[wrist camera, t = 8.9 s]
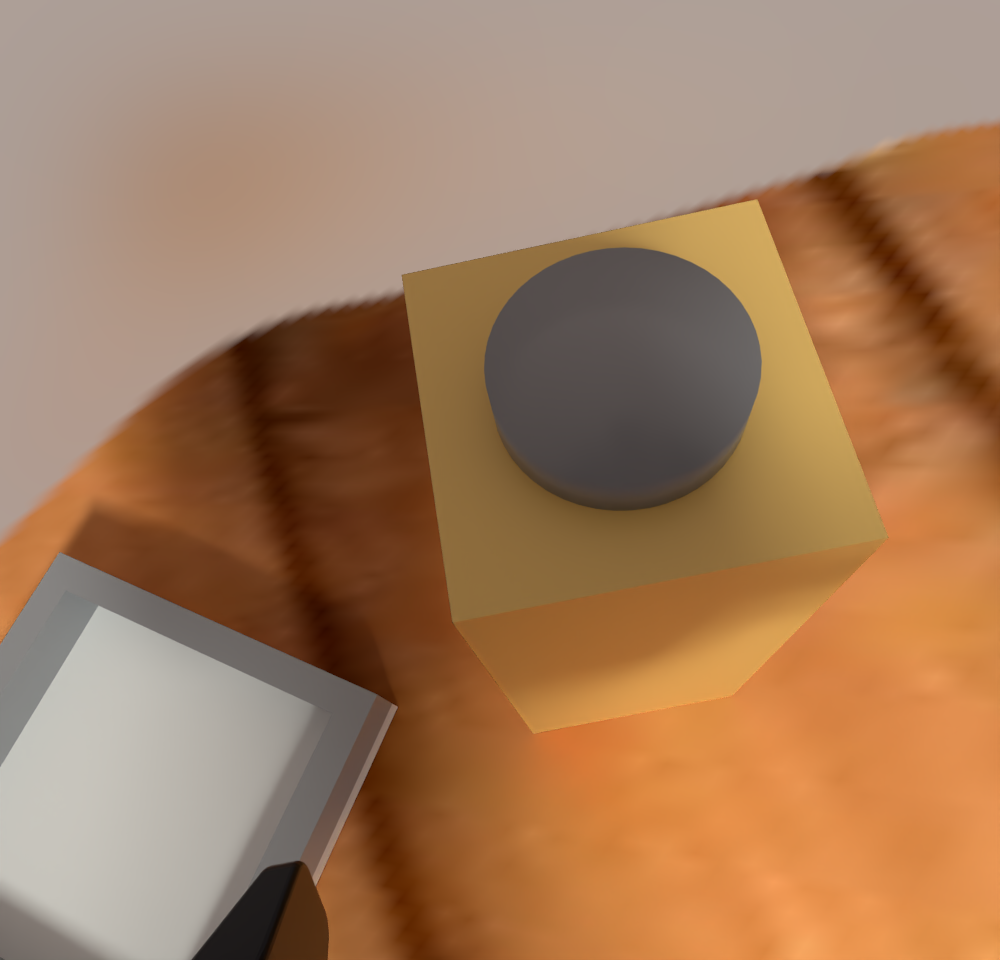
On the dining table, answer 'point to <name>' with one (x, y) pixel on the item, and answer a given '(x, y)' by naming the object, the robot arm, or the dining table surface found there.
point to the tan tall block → (633, 463)
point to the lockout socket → (158, 769)
